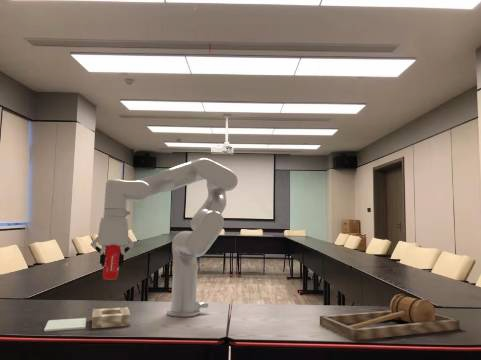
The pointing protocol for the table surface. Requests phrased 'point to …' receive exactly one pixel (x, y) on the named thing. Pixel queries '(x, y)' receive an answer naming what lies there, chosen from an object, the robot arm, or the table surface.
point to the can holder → (110, 317)
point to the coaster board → (65, 324)
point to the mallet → (405, 311)
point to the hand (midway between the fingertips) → (111, 265)
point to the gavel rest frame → (338, 326)
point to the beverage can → (111, 262)
